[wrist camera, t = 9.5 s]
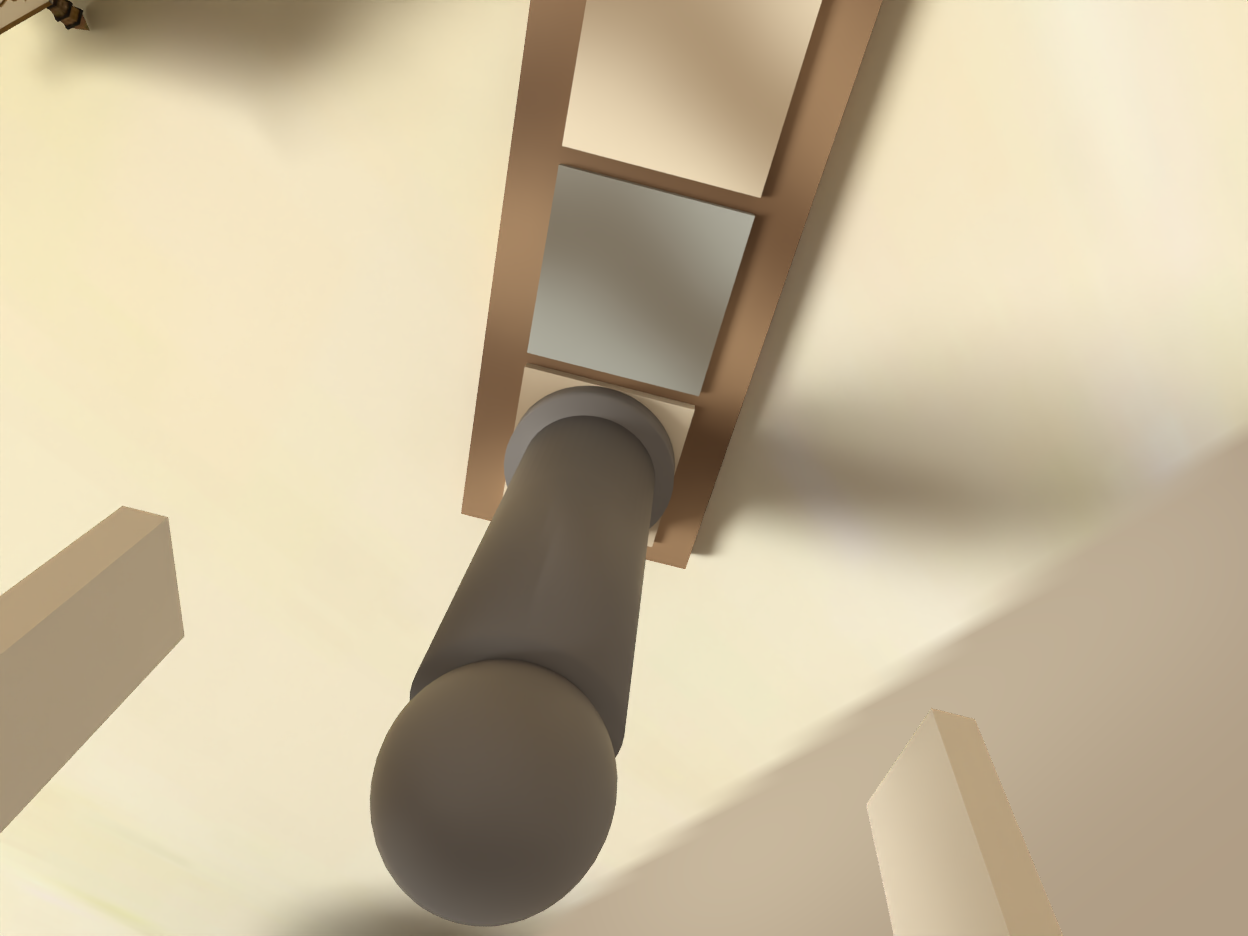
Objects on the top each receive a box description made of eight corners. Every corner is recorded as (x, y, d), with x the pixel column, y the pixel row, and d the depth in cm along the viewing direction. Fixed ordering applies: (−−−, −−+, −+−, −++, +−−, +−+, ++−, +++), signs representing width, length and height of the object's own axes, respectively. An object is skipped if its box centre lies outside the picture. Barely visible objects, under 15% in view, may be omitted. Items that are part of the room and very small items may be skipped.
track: (685, 553, 22) (685, 575, 21) (469, 499, 22) (458, 518, 21) (1023, -433, 12) (1052, -479, 11) (616, -551, 11) (608, -609, 10)
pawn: (651, 547, 20) (597, 1028, 10) (499, 509, 20) (285, 955, 10) (695, 410, 18) (684, 844, 8) (525, 366, 18) (282, 746, 8)
